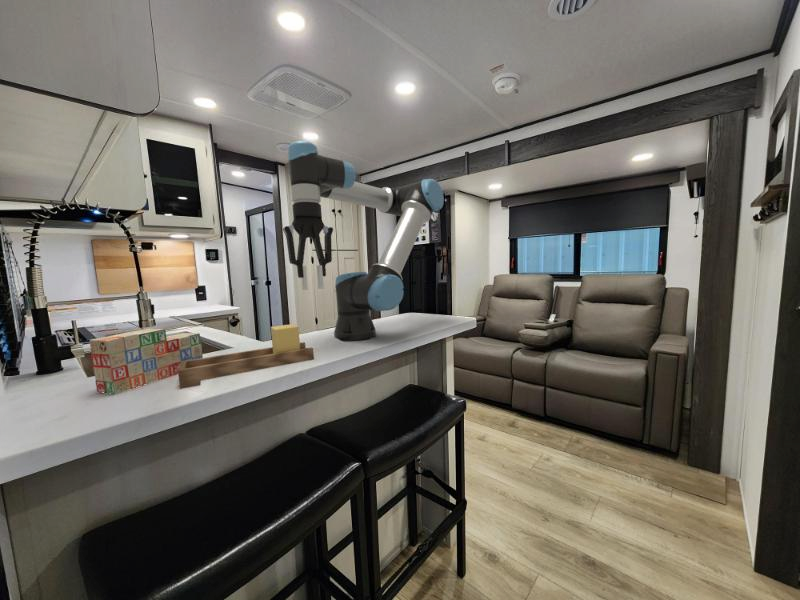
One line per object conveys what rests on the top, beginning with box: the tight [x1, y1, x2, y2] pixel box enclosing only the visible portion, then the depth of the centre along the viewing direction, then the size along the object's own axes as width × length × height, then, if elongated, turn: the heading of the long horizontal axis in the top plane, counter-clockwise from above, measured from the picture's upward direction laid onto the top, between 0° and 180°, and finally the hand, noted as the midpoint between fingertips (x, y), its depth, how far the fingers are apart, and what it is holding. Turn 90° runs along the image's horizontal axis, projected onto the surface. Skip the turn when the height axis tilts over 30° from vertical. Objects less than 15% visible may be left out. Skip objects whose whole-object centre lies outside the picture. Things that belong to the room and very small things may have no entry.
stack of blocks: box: [89, 328, 204, 395], centre depth 79 cm, size 21×6×12 cm, turn 161°
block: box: [270, 323, 301, 354], centre depth 87 cm, size 6×6×9 cm
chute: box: [177, 341, 315, 389], centre depth 82 cm, size 30×9×4 cm, turn 121°
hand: (313, 288), depth 90 cm, fingers open, 4 cm apart
